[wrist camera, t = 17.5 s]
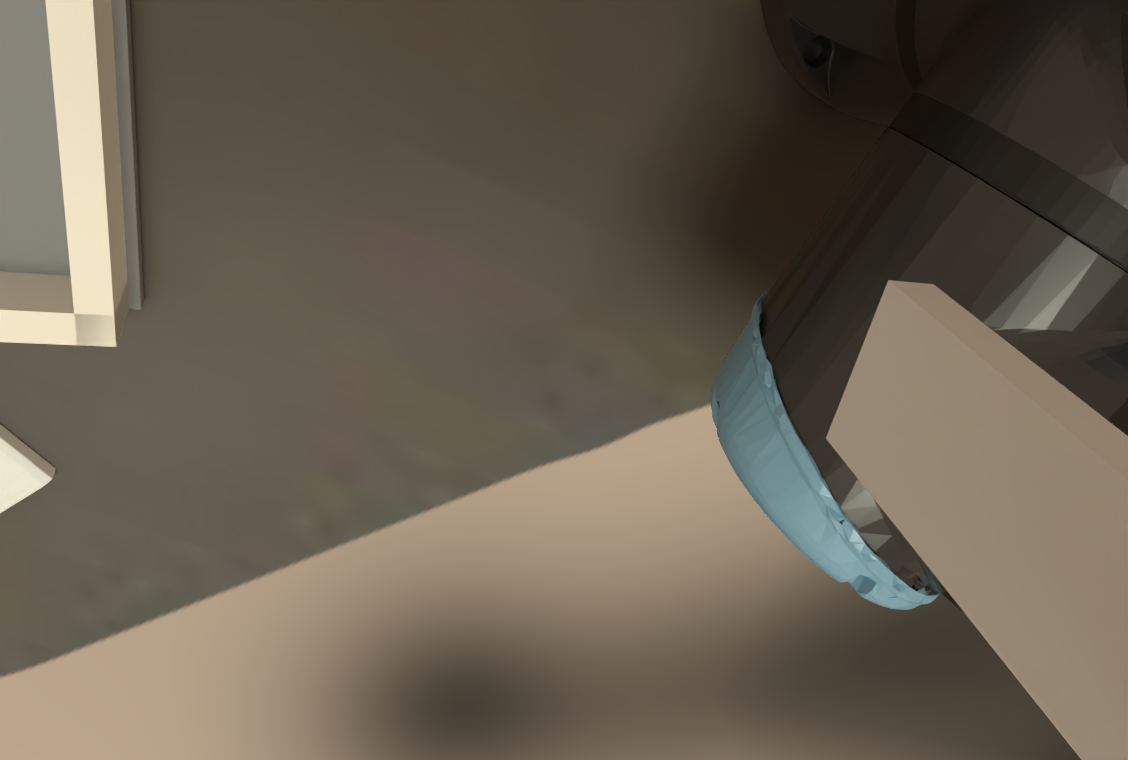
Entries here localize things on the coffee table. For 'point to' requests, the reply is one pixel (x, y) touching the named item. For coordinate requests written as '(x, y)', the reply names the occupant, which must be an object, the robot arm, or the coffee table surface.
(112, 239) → the white tray
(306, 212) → the coffee table surface
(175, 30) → the coffee table surface
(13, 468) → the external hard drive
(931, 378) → the robot arm
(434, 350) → the coffee table surface
